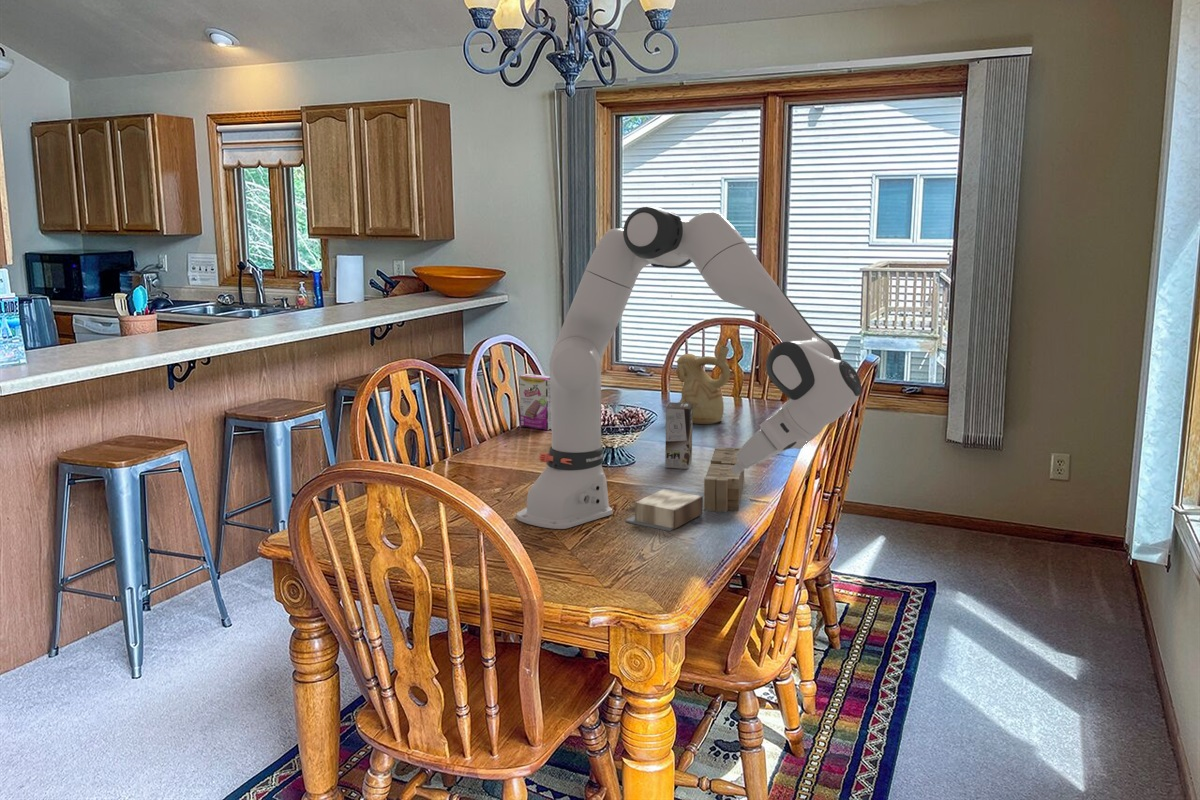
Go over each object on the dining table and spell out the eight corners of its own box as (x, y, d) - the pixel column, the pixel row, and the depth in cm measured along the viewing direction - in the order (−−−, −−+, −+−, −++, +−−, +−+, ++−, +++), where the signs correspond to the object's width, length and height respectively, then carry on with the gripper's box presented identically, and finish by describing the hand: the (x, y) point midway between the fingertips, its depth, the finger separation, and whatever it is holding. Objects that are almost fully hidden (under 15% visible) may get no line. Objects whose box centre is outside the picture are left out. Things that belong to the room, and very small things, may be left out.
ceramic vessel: (688, 412, 312) (689, 339, 307) (740, 420, 300) (742, 343, 295) (661, 421, 298) (662, 344, 293) (715, 429, 287) (716, 349, 282)
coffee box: (689, 469, 241) (689, 408, 238) (664, 468, 242) (665, 407, 239) (692, 460, 250) (693, 402, 247) (668, 459, 251) (669, 401, 248)
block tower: (738, 517, 206) (746, 477, 234) (739, 481, 204) (746, 445, 232) (702, 514, 207) (714, 476, 235) (703, 479, 206) (715, 444, 233)
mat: (669, 531, 193) (669, 529, 193) (625, 521, 199) (625, 520, 199) (702, 513, 205) (702, 512, 204) (659, 505, 211) (659, 503, 211)
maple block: (675, 510, 193) (634, 502, 198) (675, 528, 194) (634, 520, 199) (702, 496, 203) (663, 489, 208) (702, 513, 203) (663, 506, 209)
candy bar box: (518, 426, 291) (517, 375, 288) (528, 423, 296) (527, 373, 292) (547, 431, 286) (546, 378, 282) (557, 428, 290) (556, 376, 287)
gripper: (803, 405, 190) (757, 444, 198) (760, 422, 174) (712, 464, 181) (822, 429, 189) (776, 468, 196) (781, 448, 172) (732, 490, 179)
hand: (745, 466), depth 188 cm, fingers open, 8 cm apart
